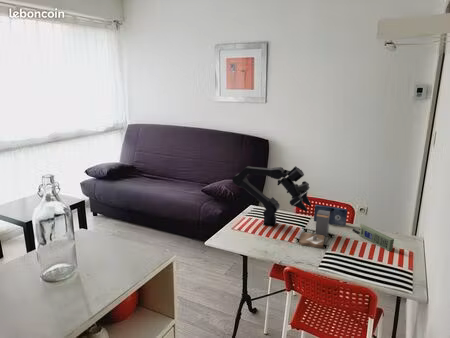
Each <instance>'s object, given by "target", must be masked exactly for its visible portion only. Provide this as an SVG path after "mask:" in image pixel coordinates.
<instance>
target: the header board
mask: <svg viewBox="0 0 450 338" xmlns="http://www.w3.org/2000/svg"><path fill="white" fill-rule="evenodd" d="M324 242H325V236H324V235H317V234H315V233H308V232H301V234H300V237H299V241H298V245H299V246H305V245H306V247H313V248H320V249H324Z"/></svg>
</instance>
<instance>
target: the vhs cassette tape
mask: <svg viewBox="0 0 450 338" xmlns="http://www.w3.org/2000/svg"><path fill="white" fill-rule="evenodd" d="M319 210H324V211H330V218H329V225H334V226H340V227H346V225H347V216H348V208H341V207H333V206H328V205H320V204H315V205H314V212H313V221H314V222H316V219H317V212H318V211H319Z"/></svg>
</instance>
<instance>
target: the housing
mask: <svg viewBox="0 0 450 338" xmlns="http://www.w3.org/2000/svg"><path fill="white" fill-rule="evenodd" d="M329 218H330V211H324V210H319V211H318V212H317V219H316V221H315V231H314V232H315V233H314V234H317V235H324V237H325V236H326V237H327V236H328V234H329V231H330V230H329V229H330V224H329ZM326 237H325V238H326Z"/></svg>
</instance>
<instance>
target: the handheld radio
mask: <svg viewBox="0 0 450 338" xmlns="http://www.w3.org/2000/svg"><path fill="white" fill-rule="evenodd" d="M359 225H360V226H359V230H357V229H355V228H352V232H354V233H356V234H358V235H359V237H360V238H363V239H364V240H367V241H369V242H370V243H372V244H375V245H376V246H378V247H380V248H382V249H383V250H386V251H388V252H393V248H394V242H395V239H394V238H392V237H390V236H389V235H387V234H385V233H383V232H380V231H378V230H375V229H374V228H371V227H369V226H367V225H365V224H362V223H360V224H359Z"/></svg>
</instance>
